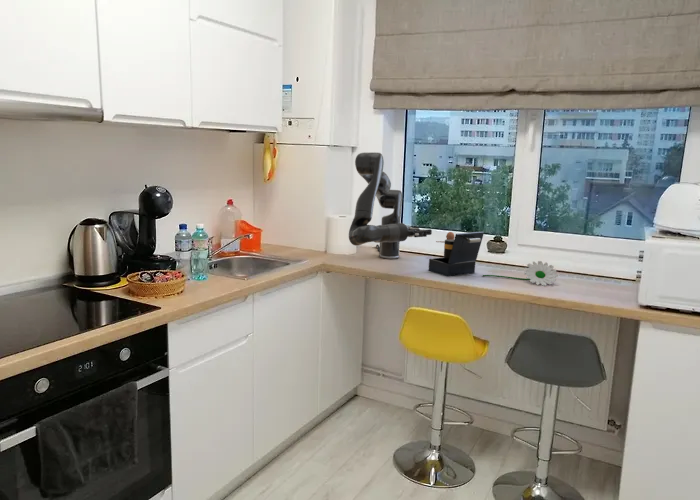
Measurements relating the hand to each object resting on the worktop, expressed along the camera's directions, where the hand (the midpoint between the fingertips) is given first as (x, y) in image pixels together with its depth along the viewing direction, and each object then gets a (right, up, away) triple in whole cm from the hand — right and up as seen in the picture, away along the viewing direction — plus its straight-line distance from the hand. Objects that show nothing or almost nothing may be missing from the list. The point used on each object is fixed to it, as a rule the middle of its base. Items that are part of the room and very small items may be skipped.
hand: (424, 230), depth 229 cm
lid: (+17, -7, -1) cm, 19 cm away
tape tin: (+12, -17, +9) cm, 23 cm away
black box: (+13, -18, +8) cm, 23 cm away
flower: (+39, -21, -4) cm, 45 cm away
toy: (+15, -15, +27) cm, 34 cm away
